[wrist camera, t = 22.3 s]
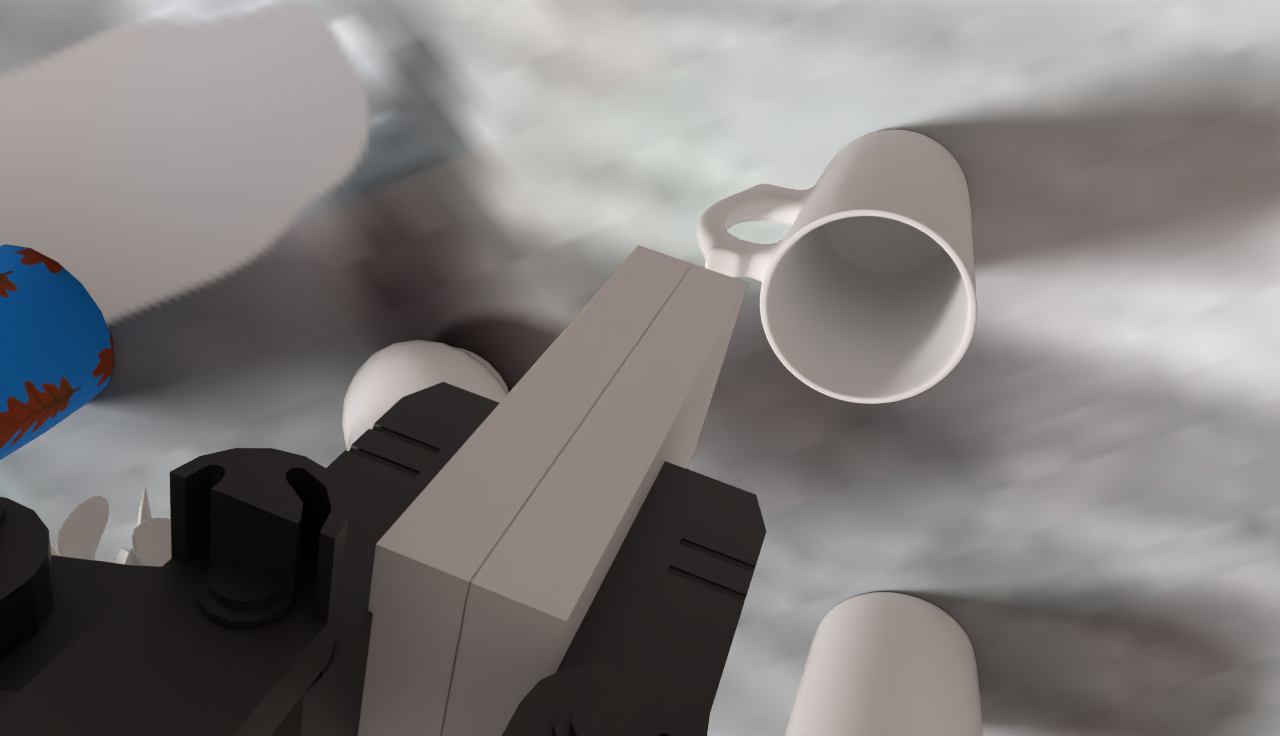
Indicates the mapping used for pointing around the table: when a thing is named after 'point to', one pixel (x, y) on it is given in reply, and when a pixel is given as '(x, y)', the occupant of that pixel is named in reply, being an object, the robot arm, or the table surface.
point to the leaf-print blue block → (46, 346)
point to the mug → (861, 268)
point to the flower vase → (363, 405)
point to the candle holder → (888, 672)
